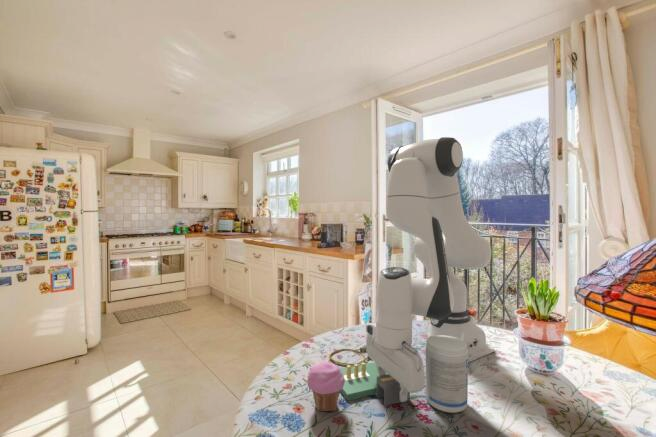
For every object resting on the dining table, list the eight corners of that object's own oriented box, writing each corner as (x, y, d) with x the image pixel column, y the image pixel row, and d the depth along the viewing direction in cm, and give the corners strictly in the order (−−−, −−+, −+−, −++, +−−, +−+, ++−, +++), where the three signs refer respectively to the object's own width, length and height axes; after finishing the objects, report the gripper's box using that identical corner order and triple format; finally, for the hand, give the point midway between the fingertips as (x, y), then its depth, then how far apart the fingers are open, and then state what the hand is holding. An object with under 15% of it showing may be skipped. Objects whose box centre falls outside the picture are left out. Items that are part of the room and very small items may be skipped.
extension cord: (383, 367, 94) (383, 360, 94) (330, 368, 93) (330, 361, 93) (374, 349, 106) (374, 343, 106) (327, 350, 105) (327, 344, 105)
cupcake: (346, 418, 70) (347, 373, 70) (307, 419, 69) (308, 374, 69) (341, 394, 79) (342, 355, 79) (306, 396, 78) (307, 356, 78)
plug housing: (400, 391, 81) (400, 371, 81) (409, 399, 77) (410, 379, 77) (376, 396, 78) (376, 376, 78) (385, 405, 75) (385, 384, 75)
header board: (381, 366, 94) (381, 351, 94) (405, 386, 83) (406, 369, 83) (328, 376, 88) (328, 360, 88) (347, 400, 77) (347, 382, 76)
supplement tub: (476, 412, 73) (477, 348, 73) (439, 417, 71) (440, 352, 70) (450, 389, 82) (452, 333, 82) (417, 393, 80) (418, 335, 80)
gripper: (432, 350, 69) (431, 412, 69) (382, 320, 88) (381, 369, 88) (408, 354, 67) (407, 419, 67) (362, 322, 86) (361, 373, 86)
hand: (392, 390), depth 78 cm, fingers open, 7 cm apart
